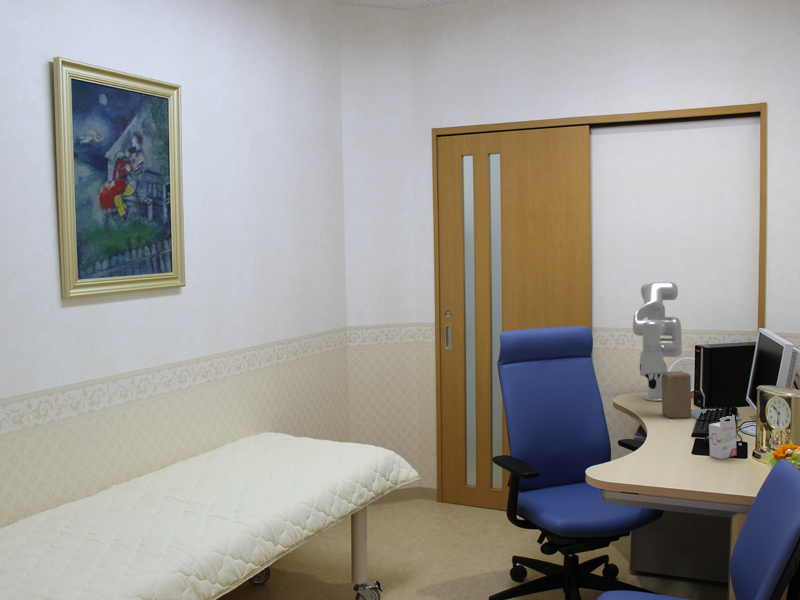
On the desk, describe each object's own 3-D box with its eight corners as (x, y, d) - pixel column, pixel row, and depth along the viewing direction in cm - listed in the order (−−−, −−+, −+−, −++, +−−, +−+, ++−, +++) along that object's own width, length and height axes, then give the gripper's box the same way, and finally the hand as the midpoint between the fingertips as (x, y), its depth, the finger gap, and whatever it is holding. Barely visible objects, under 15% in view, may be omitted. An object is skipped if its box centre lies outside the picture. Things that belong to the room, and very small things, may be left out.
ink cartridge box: (724, 452, 244) (723, 412, 243) (737, 455, 239) (736, 414, 239) (708, 456, 240) (708, 415, 239) (721, 459, 235) (720, 418, 235)
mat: (681, 410, 315) (681, 409, 315) (720, 410, 314) (720, 408, 314) (699, 421, 293) (699, 419, 293) (741, 420, 292) (741, 419, 292)
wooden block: (692, 418, 300) (691, 374, 299) (669, 418, 300) (668, 374, 299) (683, 413, 310) (682, 370, 309) (661, 414, 310) (660, 371, 309)
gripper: (665, 347, 308) (666, 386, 308) (632, 348, 309) (633, 387, 309) (671, 349, 300) (672, 389, 301) (637, 349, 301) (638, 390, 302)
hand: (652, 388), depth 305 cm, fingers closed
